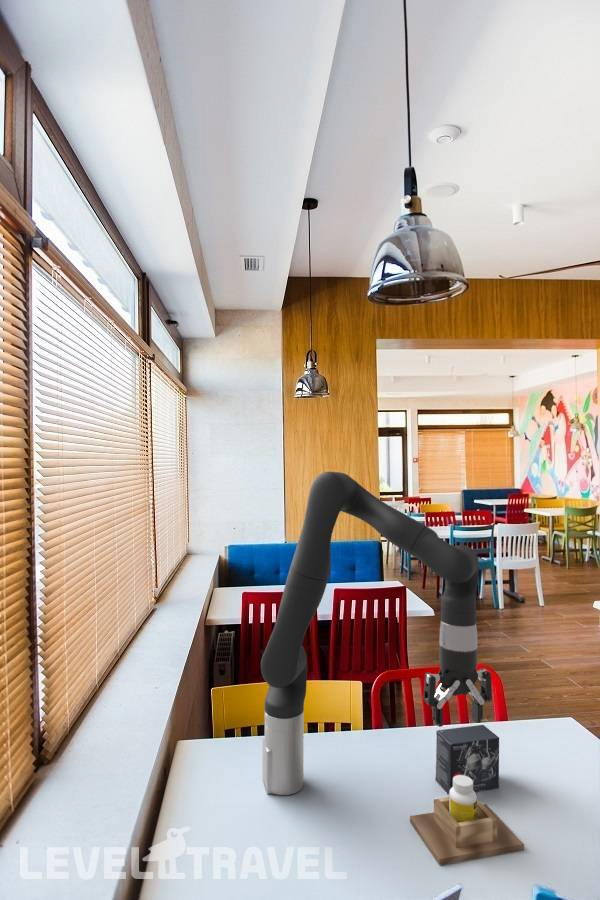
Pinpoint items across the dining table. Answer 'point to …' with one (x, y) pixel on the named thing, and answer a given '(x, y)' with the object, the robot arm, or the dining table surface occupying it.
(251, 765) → the dining table surface
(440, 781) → the small box
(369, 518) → the robot arm
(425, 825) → the holder stand
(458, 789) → the supplement bottle
